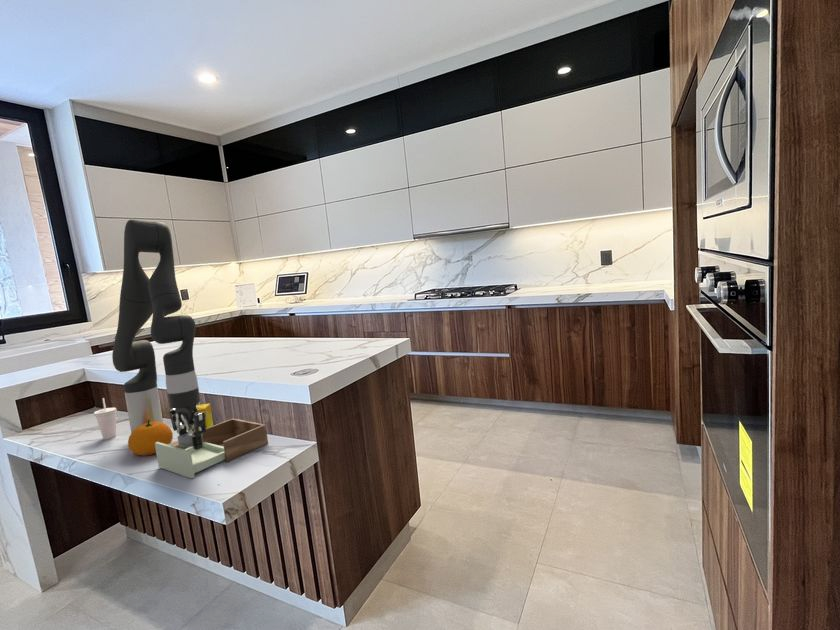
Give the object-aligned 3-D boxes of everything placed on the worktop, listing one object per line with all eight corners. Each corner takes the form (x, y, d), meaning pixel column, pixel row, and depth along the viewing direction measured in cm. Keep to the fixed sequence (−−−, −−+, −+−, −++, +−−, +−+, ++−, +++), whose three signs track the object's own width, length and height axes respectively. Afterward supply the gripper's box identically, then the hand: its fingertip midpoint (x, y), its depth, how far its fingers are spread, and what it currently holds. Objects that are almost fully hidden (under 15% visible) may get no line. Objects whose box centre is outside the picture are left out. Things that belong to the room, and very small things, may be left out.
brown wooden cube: (167, 457, 125) (165, 445, 124) (181, 452, 128) (179, 439, 128) (175, 460, 123) (173, 447, 122) (188, 454, 126) (186, 441, 125)
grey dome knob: (195, 437, 122) (194, 429, 121) (207, 440, 118) (206, 432, 118) (174, 445, 116) (173, 437, 116) (186, 448, 113) (185, 440, 113)
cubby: (194, 453, 127) (191, 433, 126) (235, 435, 138) (232, 418, 137) (227, 462, 118) (224, 442, 117) (268, 443, 129) (265, 424, 128)
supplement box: (189, 444, 134) (184, 411, 133) (195, 437, 140) (190, 405, 139) (209, 441, 135) (204, 408, 134) (214, 434, 141) (210, 402, 140)
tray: (158, 466, 118) (154, 442, 117) (202, 448, 129) (199, 426, 128) (191, 478, 109) (187, 452, 108) (236, 457, 120) (232, 434, 119)
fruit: (157, 441, 139) (152, 412, 138) (182, 444, 135) (178, 414, 134) (121, 457, 128) (115, 426, 127) (147, 461, 124) (142, 428, 123)
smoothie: (121, 432, 152) (115, 394, 150) (120, 437, 147) (113, 398, 145) (99, 437, 149) (92, 398, 147) (97, 442, 143) (90, 402, 142)
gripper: (210, 386, 115) (219, 445, 117) (182, 382, 123) (190, 438, 125) (183, 394, 109) (193, 456, 111) (155, 390, 117) (164, 448, 118)
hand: (191, 446), depth 118 cm, fingers closed on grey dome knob, 6 cm apart
